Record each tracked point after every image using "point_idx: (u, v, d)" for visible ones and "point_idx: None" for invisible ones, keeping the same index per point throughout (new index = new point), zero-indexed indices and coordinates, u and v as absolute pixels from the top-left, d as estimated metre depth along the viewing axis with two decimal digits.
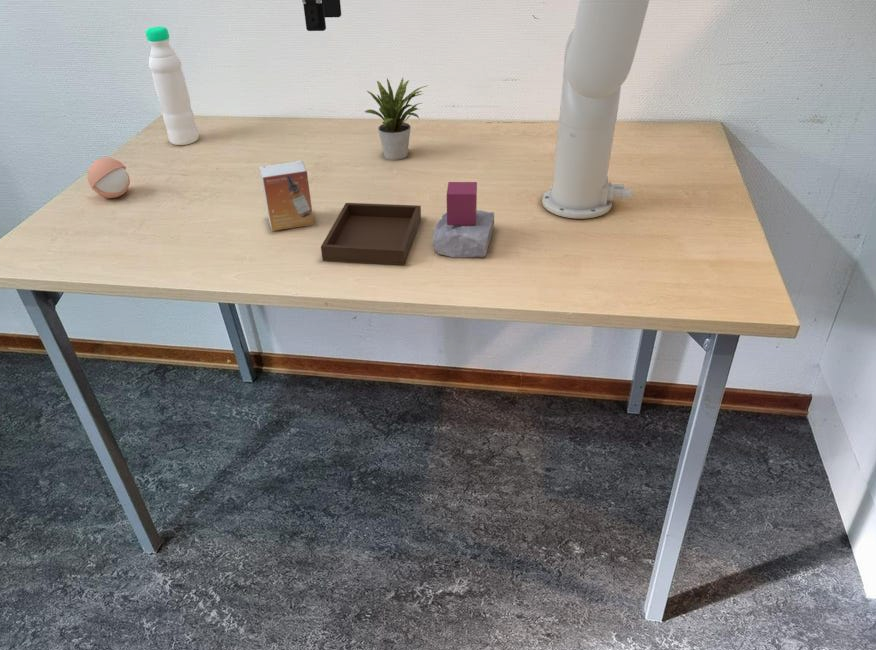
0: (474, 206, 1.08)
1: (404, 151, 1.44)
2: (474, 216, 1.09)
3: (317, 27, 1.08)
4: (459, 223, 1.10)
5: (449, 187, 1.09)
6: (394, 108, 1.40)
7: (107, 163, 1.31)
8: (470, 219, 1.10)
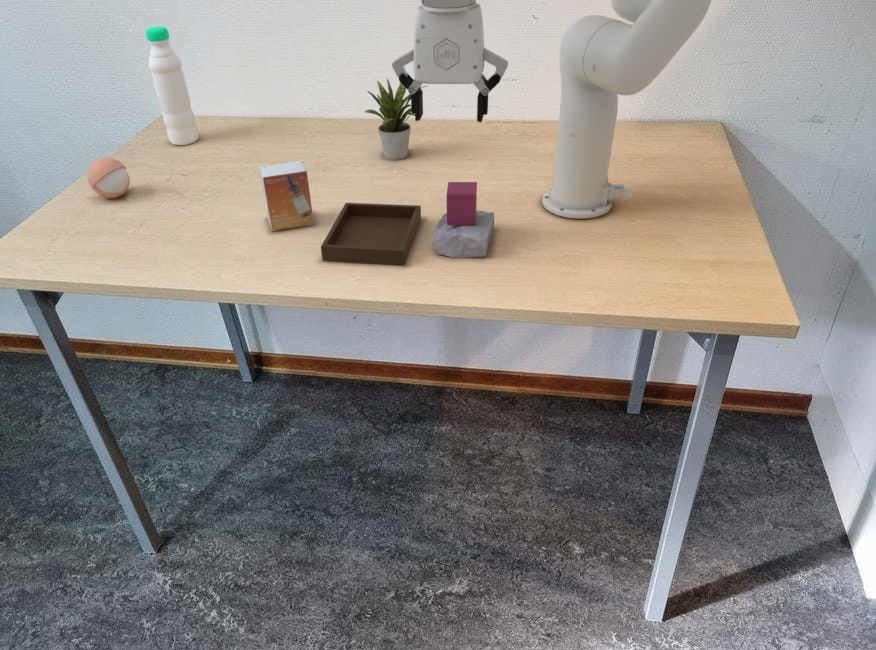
0: (474, 206, 1.08)
1: (404, 151, 1.44)
2: (474, 216, 1.09)
3: None
4: (459, 223, 1.10)
5: (449, 187, 1.09)
6: (394, 108, 1.40)
7: (107, 163, 1.31)
8: (470, 219, 1.10)
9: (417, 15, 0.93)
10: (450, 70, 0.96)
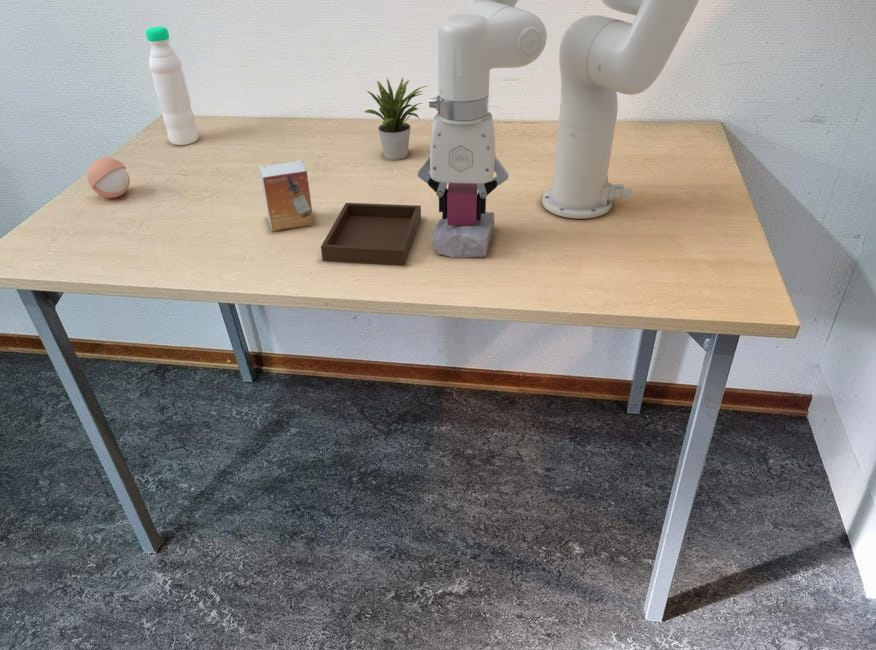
0: (474, 206, 1.08)
1: (404, 151, 1.44)
2: (474, 216, 1.09)
3: None
4: (459, 223, 1.10)
5: (450, 187, 1.09)
6: (394, 108, 1.40)
7: (107, 163, 1.31)
8: (471, 219, 1.10)
9: (434, 124, 1.01)
10: (464, 172, 1.04)
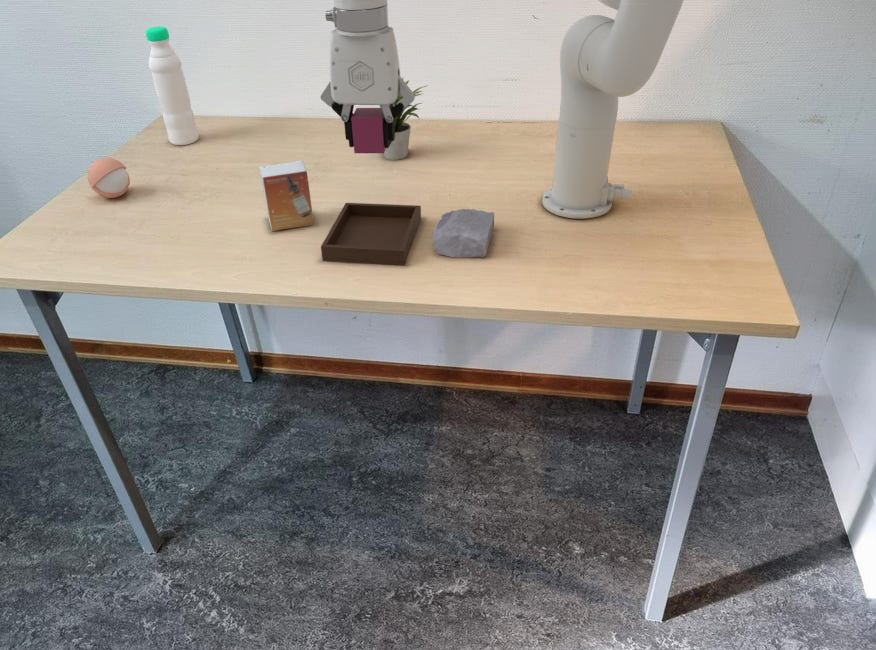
0: (381, 131, 1.02)
1: (404, 151, 1.44)
2: (382, 143, 1.03)
3: None
4: (367, 151, 1.04)
5: (356, 112, 1.03)
6: None
7: (107, 163, 1.31)
8: (378, 146, 1.04)
9: (331, 38, 0.95)
10: (366, 92, 0.98)
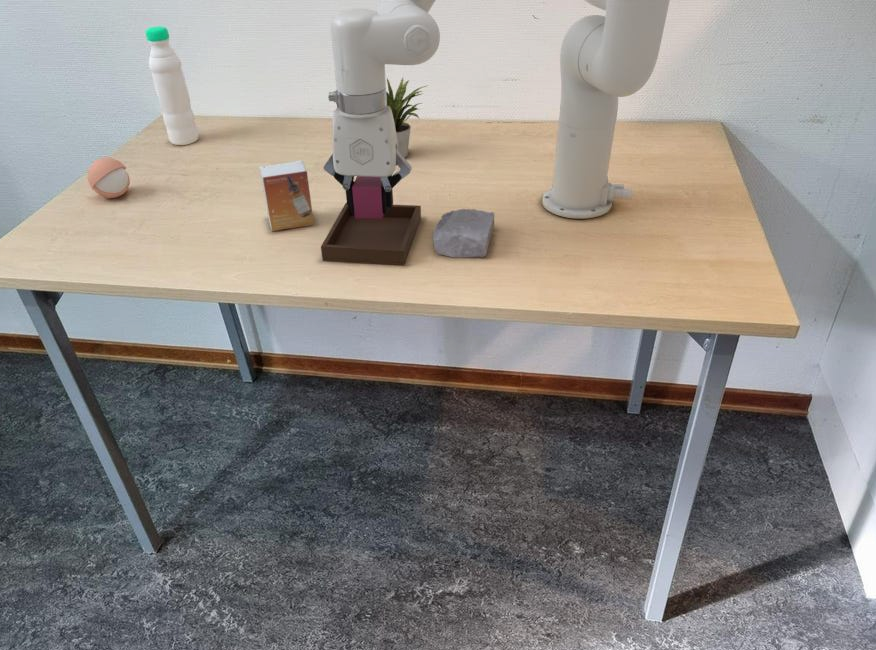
0: (380, 199, 1.09)
1: (404, 151, 1.44)
2: (381, 209, 1.11)
3: None
4: (367, 216, 1.12)
5: (356, 180, 1.11)
6: (394, 108, 1.40)
7: (107, 163, 1.31)
8: (377, 212, 1.11)
9: (333, 118, 1.02)
10: (366, 165, 1.05)
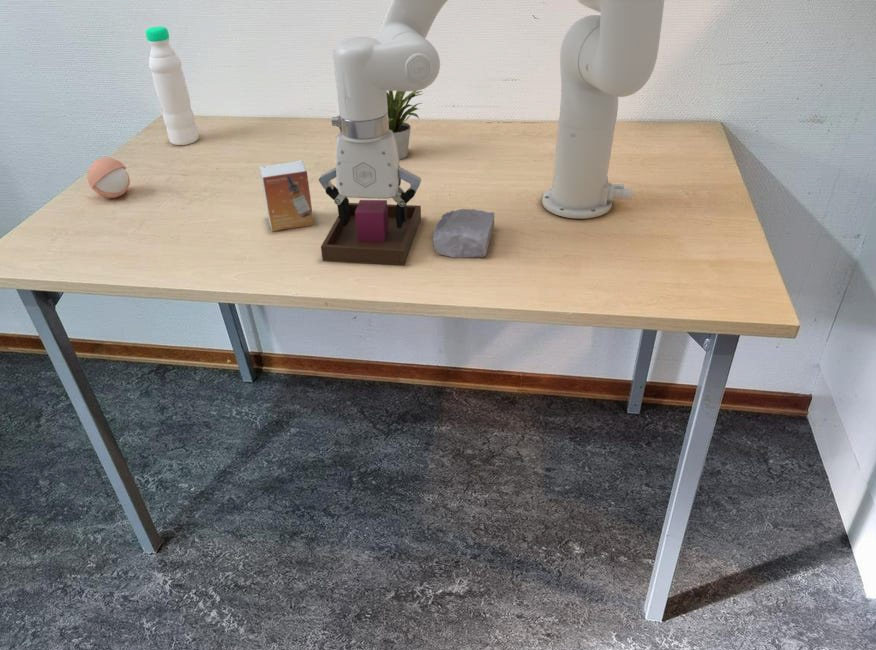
0: (382, 224, 1.12)
1: (404, 151, 1.44)
2: (383, 233, 1.13)
3: None
4: (369, 240, 1.14)
5: (359, 205, 1.13)
6: (394, 108, 1.40)
7: (107, 163, 1.31)
8: (379, 236, 1.14)
9: (337, 142, 1.05)
10: (369, 187, 1.08)
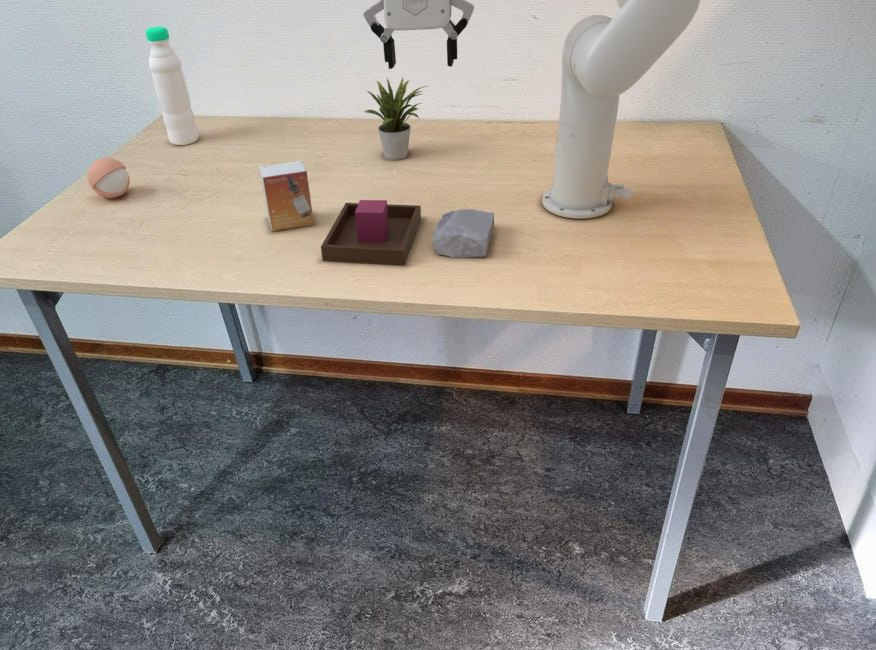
0: (382, 224, 1.12)
1: (404, 151, 1.44)
2: (383, 233, 1.13)
3: None
4: (369, 240, 1.14)
5: (359, 205, 1.13)
6: (394, 108, 1.40)
7: (107, 163, 1.31)
8: (379, 236, 1.14)
9: None
10: (419, 15, 1.01)
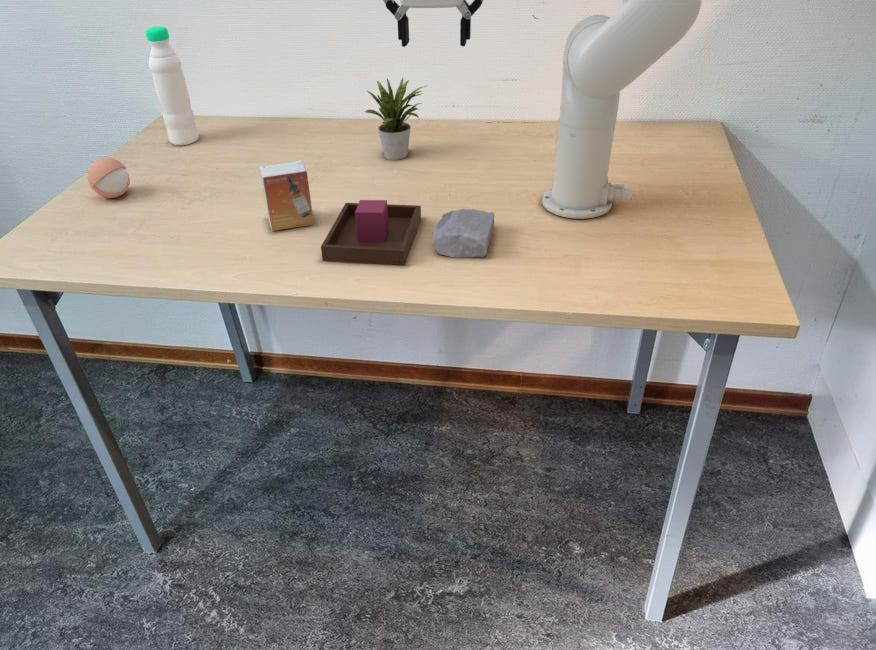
0: (382, 224, 1.12)
1: (404, 151, 1.44)
2: (383, 233, 1.13)
3: None
4: (369, 240, 1.14)
5: (359, 205, 1.13)
6: (394, 108, 1.40)
7: (107, 163, 1.31)
8: (379, 236, 1.14)
9: None
10: None
